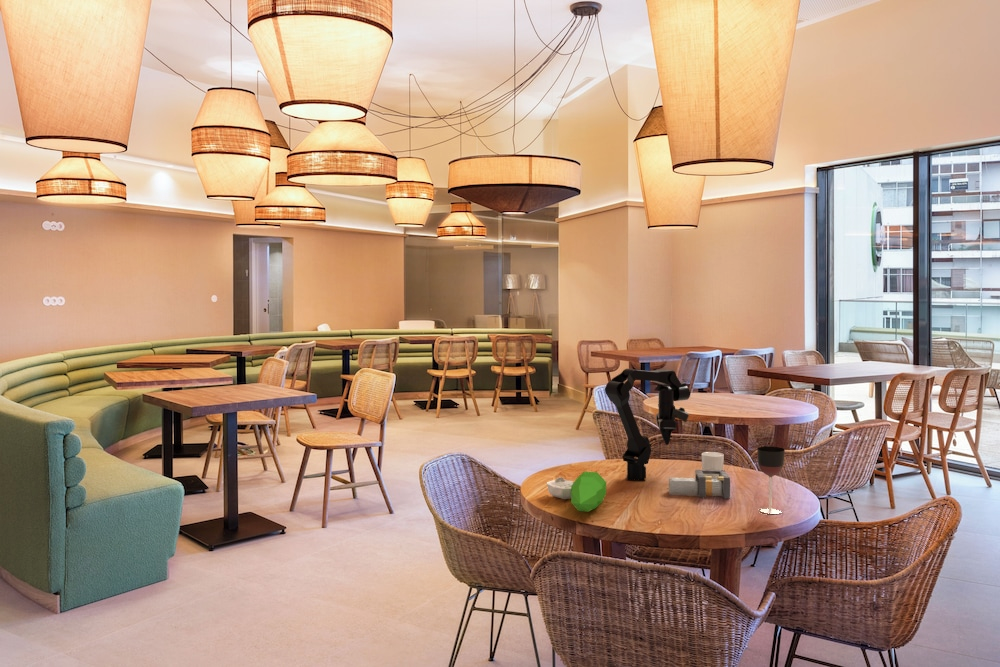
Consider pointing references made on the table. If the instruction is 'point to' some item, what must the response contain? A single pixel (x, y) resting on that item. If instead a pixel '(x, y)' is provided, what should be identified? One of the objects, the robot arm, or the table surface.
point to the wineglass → (770, 468)
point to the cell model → (560, 488)
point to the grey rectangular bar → (694, 487)
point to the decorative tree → (588, 491)
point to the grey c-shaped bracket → (703, 478)
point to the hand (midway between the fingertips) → (665, 442)
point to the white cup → (712, 462)
